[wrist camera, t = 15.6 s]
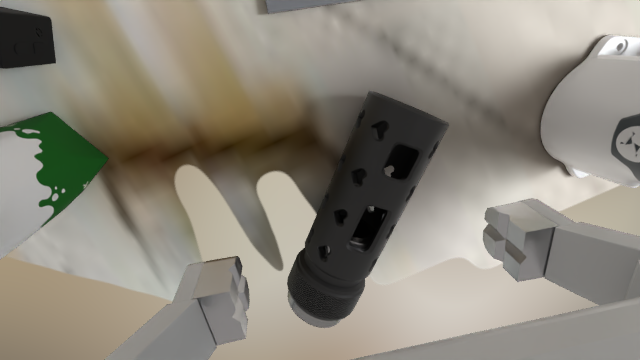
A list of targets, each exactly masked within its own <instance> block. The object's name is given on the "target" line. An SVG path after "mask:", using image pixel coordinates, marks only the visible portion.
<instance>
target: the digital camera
mask: <svg viewBox="0 0 640 360" xmlns="http://www.w3.org/2000/svg"><path fill="white" fill-rule="evenodd" d="M38 27H39V29H40V30H39V29H38ZM36 28H37V30H38V31H37V30H36ZM36 32H37V33H38V35H39V36H40V37H39V36H38V35H37V33H36ZM52 63H56V60H55V51H54V42H53V32H52V23H51V19H50V18H49V17H47V16H42V15H37V14H32V13H28V12H23V11H18V10H13V9H9V8H4V7H0V68H14V67H24V66H33V65H42V64H52Z"/></svg>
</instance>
